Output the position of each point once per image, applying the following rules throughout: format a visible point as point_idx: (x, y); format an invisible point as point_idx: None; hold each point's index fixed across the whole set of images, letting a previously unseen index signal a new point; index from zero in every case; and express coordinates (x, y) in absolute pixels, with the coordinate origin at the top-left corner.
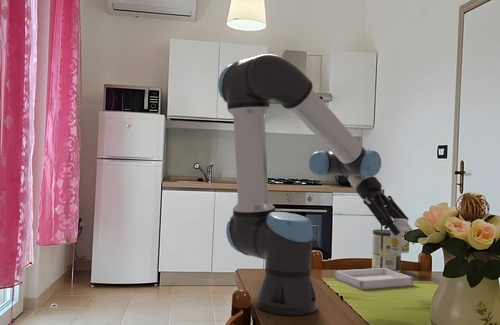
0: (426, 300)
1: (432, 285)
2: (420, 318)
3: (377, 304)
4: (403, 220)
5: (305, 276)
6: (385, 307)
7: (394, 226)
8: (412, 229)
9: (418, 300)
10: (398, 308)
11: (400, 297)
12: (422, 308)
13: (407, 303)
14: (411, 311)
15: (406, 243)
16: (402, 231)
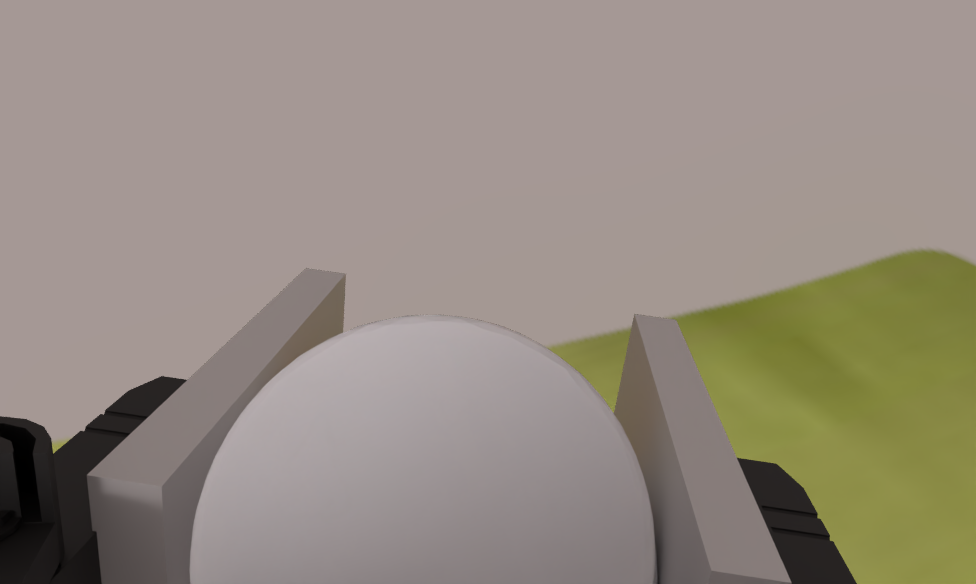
0: (549, 347)
1: (55, 446)
2: (934, 264)
3: (930, 558)
4: (576, 378)
5: None
6: (939, 487)
7: (806, 571)
8: (241, 347)
9: (592, 385)
10: (880, 416)
11: None
12: (747, 312)
13: (724, 414)
14: (863, 338)
15: (619, 391)
16: (698, 403)
